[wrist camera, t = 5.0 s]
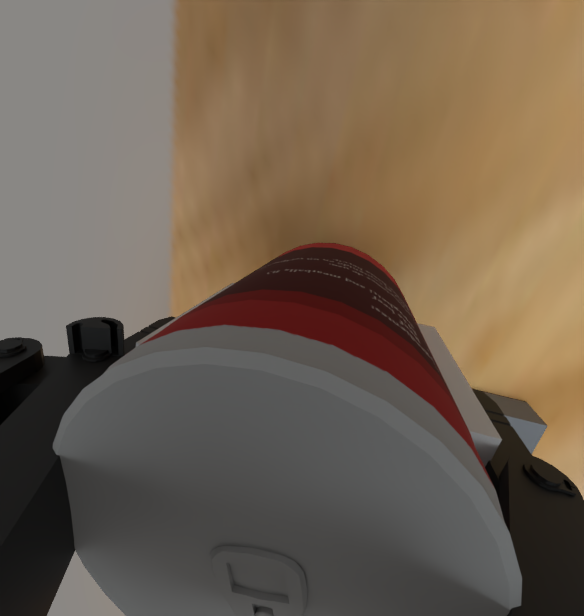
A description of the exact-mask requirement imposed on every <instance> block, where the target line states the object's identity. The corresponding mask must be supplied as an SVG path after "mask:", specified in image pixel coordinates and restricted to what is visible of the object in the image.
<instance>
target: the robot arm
mask: <svg viewBox="0 0 584 616" xmlns="http://www.w3.org/2000/svg"><path fill="white" fill-rule="evenodd" d="M233 284H235V283H231V284H230V285H228V286H227V287H225V288H223V289H222V290H220V291H219V292H217V293H215V294H214V295H212V296H210V297H209V298H207V299H206V300H204V301H202V302H201V303H199V304H198V305H196V306H194V307H193V308H191V309H189V310H188V311H186V312H185V313H183V314H181V315H180V316H178V317H176V318H175V317H168V318H165V319H161V320H158V321H156V322H155V323H153V324H151V325H149V327H146V328H144V329H142V330H141V331H140V332H137V333H135V334H134V335H132V336H130V337H128V338H127V339H125V340H124V330H123V324H122V323H121V322H120V321H118V320H116V319H112V318H106V317H93V318H87V319H81V320H78V321H75V322H72V323H71V324H69V325H67V326H66V329H67V336H68V345H69V352H70V354H69V355H68V356H67V357H56V356H44V355H43V349H42V344H41V343H40V342H39V341H37V340H34V339H30V338H7V339H4V340H1V341H0V616H47V613H48V611H49V609H50V607H51V604H52V602H53V600H54V597H55V595H56V593H57V591H58V588H59V586H60V583H61V581H62V579H63V577H64V574H65V572H66V570H67V567H68V565H69V563H70V561H71V558H72V556H73V554H74V551H75V548H74V535H73V525H72V516H71V508H70V503H69V497H68V491H67V485H66V480H65V476H64V472H63V468H62V464H61V459H60V455H56V453H55V451H54V450H53V442H54V439H55V437H56V434H57V431H58V428H59V425H60V423H61V420H62V417H63V415H64V413H65V412H66V411H67V409H68V408H69V407H70V405H71V404H72V403H73V401H74V400H75V399H76V397H77V396H78V395H79V393H80V392H81V391H82V389H83V388H85V387H86V386H88V385H89V384H90V383H92V382H93V381H95V380H96V379H97V378H99V377H100V376H102V375H103V374H104V372H105V371H106V370H107V369H108V368H109V366H111V365H112V364H113V363H115V362H116V361H117V360H119V359H120V358H122V357H123V356H124V355H126V354H127V353H129V352H130V351H131V350H133V349H134V348H136V347H137V346H138V345H140V344H141V343H143V342H145V341H146V340H148V339H149V338H151V337H152V336H154V335H155V334H157V333H159V332H160V331H162V330H163V329H164V328H166V327H167V326H169V325H170V324H171V323H173V322H174V321H176V320H177V319H178V318H180V317H182V316H183V315H185V314H186V313H188V312H190V311H191V310H193V309H194V308H196V307H198V306H199V305H201V304H202V303H204V302H206V301H207V300H209V299H211V298H212V297H214V296H215V295H217V294H219V293H220V292H222V291H223V290H225V289H227V288H228V287H230V286H232V285H233ZM417 325H418V327H419V329H420V331H421V333H422V335H423V337H424V339H425V341H426V343H427V345H428V347H429V349H430V351H431V353H432V356H433V358H434V360H435V362H436V364H437V366H438V368H439V370H440V372H441V374H442V376H443V378H444V380H445V382H446V384H447V386H448V388H449V390H450V393H451V395H452V397H453V399H454V401H455V403H456V405H457V407H458V409H459V411H460V413H461V415H462V417H463V419H464V421H465V423H466V425H467V427H468V430H469V432H470V434H471V437H472V439H473V442H474V445H475V448H476V450H477V452H478V454H479V456H480V458H481V460H482V462H483V464H484V467H485V469H486V471H487V473H488V475H489V477H490V479H491V481H492V484H493V486H494V488H495V490H496V493H497V497H498V500H499V504H500V507H501V511H502V515H503V518H504V522H505V524H506V526H507V528H508V530H509V533H510V536H511V539H512V543H513V547H514V550H515V554H516V558H517V561H518V565H519V569H520V572H521V576H522V596H521V606H518V607H514V608H511V610H510V612H509V614H508V615H507V616H584V500H583V497H582V495H581V493H580V492H579V490H578V488H577V486H576V485H575V484H574V483H573V482H572V481H571V480H570V479H569V478H568V477H567V476H566V475H564V474H563V473H562V472H561V471H559V470H558V469H557V468H555V467H554V466H552V465H550V464H549V463H547V462H545V461H543V460H541V459H539V458H536V457H534V456H532V454H531V453H530V452H529V450H528V449H527V447H526V446H525V444H524V443H523V441H522V440H521V438H520V437H519V435H518V434H517V432H516V431H515V430H514V428H513V427H512V426H511V424H510V422H509V421H508V419H507V418H506V417H505V416H504V413H503V412H502V410H501V409H500V408H499V406H498V405H497V403H496V402H495V401H493V400H492V399H491V398H490V397H489V396H488V395H486V394H485V393H484V392H482V391H478V390H474V389H471V387H470V385H469V384H468V382H467V380H466V379H465V377H464V375H463V374H462V372H461V370H460V369H459V367H458V365H457V364H456V362H455V360H454V359H453V357H452V355H451V354H450V352H449V350H448V349H447V347H446V345H445V344H444V342H443V340H442V339H441V337H440V335H439V334H438V332H437V330H436V329H435V327H432V326H427V325H423V324H418V323H417Z"/></svg>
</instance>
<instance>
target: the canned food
mask: <svg viewBox="0 0 584 616" xmlns="http://www.w3.org/2000/svg"><path fill="white" fill-rule="evenodd" d="M53 450H54V451H55V453H56V455H60V459H61V464H62V468H63V472H64V476H65V480H66V485H67V491H68V497H69V503H70V508H71V516H72V525H73V535H74V548H75V550H76V552H77V554H78V556H79V557H80V559H81V561H82V563H83V565H84V566H85V568H86V569H87V570H88V572H89V573H90V575H91V576H92V577H93V579H94V580H95V581H96V582H97V584H98V585H99V587H100V588H101V589H102V591H103V592H104V593H105V594H106V595H107V596H108V597H109V598H110V600H111V601H113V602H114V604H115V605H116V606H117V607H118V608H119V609H120V610H121V611H122V612H123V613H124V614H125V615H126V616H507V615H508V614H509V612H510V610H511V608H514V607H518V606H521V596H522V576H521V572H520V569H519V565H518V561H517V558H516V554H515V550H514V547H513V543H512V539H511V536H510V533H509V530H508V528H507V526H506V524H505V522H504V518H503V515H502V511H501V507H500V504H499V500H498V497H497V493H496V490H495V488H494V486H493V484H492V481H491V479H490V477H489V475H488V473H487V471H486V469H485V467H484V464H483V462H482V460H481V458H480V456H479V454H478V452H477V450H476V448H475V445H474V442H473V439H472V437H471V434H470V432H469V430H468V427H467V425H466V423H465V421H464V419H463V417H462V415H461V413H460V411H459V409H458V407H457V405H456V403H455V401H454V399H453V397H452V395H451V393H450V390H449V388H448V386H447V384H446V382H445V380H444V378H443V376H442V374H441V372H440V370H439V368H438V366H437V364H436V362H435V360H434V358H433V356H432V353H431V351H430V349H429V347H428V345H427V343H426V341H425V339H424V337H423V335H422V333H421V331H420V329H419V327H418V325H417V323H416V321H415V318H414V316H413V314H412V312H411V310H410V308H409V306H408V304H407V302H406V300H405V298H404V296H403V294H402V292H401V290H400V289H399V287H398V285H397V283H396V281H395V280H394V278H393V277H392V276H391V275H390V274H389V273H388V272H387V270H386V269H385V268H384V267H383V266H382V265H381V264H379V263H378V262H377V261H375V260H374V259H373V258H371V257H370V256H369V255H367V254H365V253H363V252H361V251H359V250H356V249H354V248H352V247H348V246H344V245H340V244H336V243H313V244H308V245H303V246H299V247H297V248H294V249H292V250H289V251H287V252H285V253H283V254H282V255H280V256H278V257H277V258H275V259H274V260H272V261H270V262H269V263H267V264H265V265H264V266H262V267H261V268H259V269H257V270H256V271H254V272H253V273H251V274H249V275H248V276H246V277H244V278H243V279H241V280H240V281H238V282H236V283H235V284H233V285H232V286H230V287H228V288H227V289H225V290H223V291H222V292H220V293H219V294H217V295H215V296H214V297H212V298H211V299H209V300H207V301H206V302H204V303H202V304H201V305H199V306H198V307H196V308H194V309H193V310H191V311H190V312H188V313H186V314H185V315H183V316H182V317H180V318H178V319H177V320H176V321H174V322H173V323H171V324H170V325H169V326H167V327H166V328H164V329H163V330H162V331H160V332H159V333H157V334H155V335H154V336H152V337H151V338H149V339H148V340H146V341H145V342H143V343H141V344H140V345H138V346H137V347H136V348H134V349H133V350H131V351H130V352H129V353H127V354H126V355H124V356H123V357H122V358H120V359H119V360H117V361H116V362H115V363H113V364H112V365H111V366H109V368H108V369H107V370H106V371H105V372H104V374H103V375H102V376H100V377H99V378H97V379H96V380H95V381H93V382H92V383H90V384H89V385H88V386H86V387H85V388H83V389H82V391H81V392H80V393H79V395H78V396H77V397H76V399H75V400H74V401H73V403H72V404H71V405H70V407H69V408H68V409H67V411H66V412H65V413H64V415H63V417H62V420H61V423H60V425H59V428H58V431H57V434H56V437H55V439H54V442H53Z"/></svg>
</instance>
